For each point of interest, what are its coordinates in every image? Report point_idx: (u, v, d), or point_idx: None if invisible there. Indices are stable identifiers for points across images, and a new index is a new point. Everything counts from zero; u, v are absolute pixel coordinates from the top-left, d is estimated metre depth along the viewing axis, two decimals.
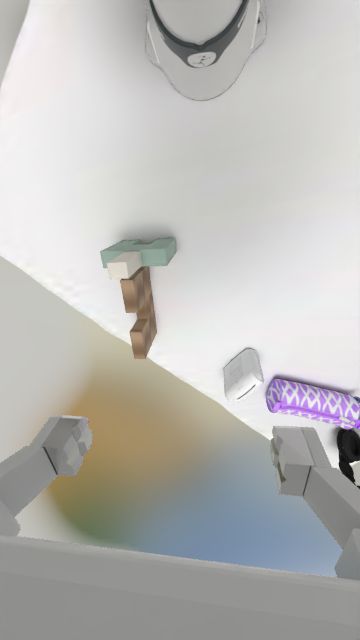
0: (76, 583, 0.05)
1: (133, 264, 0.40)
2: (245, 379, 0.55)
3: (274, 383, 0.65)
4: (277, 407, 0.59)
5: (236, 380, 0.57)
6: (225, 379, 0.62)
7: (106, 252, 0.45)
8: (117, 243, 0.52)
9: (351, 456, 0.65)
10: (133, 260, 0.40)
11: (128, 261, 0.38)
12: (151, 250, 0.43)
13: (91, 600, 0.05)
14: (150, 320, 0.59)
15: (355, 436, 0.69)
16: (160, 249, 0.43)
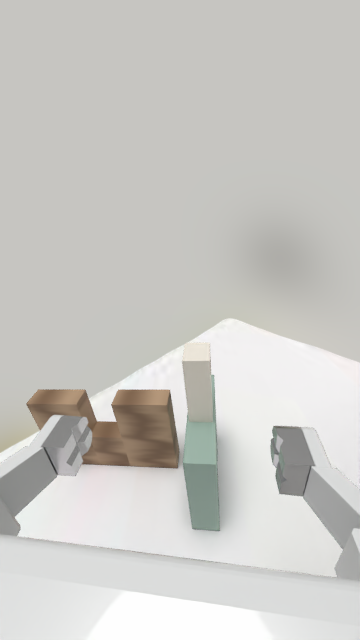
0: (76, 583, 0.05)
1: (198, 388, 0.24)
2: None
3: None
4: None
5: None
6: None
7: (212, 380, 0.31)
8: None
9: None
10: (205, 389, 0.24)
11: (208, 371, 0.23)
12: (213, 439, 0.24)
13: (91, 600, 0.05)
14: None
15: None
16: (214, 455, 0.23)
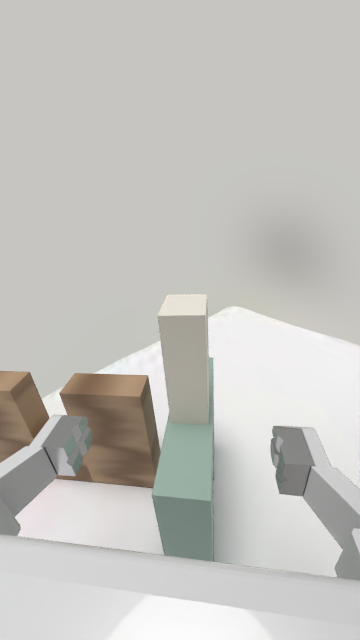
0: (76, 583, 0.05)
1: (185, 367, 0.14)
2: None
3: None
4: None
5: None
6: None
7: (210, 365, 0.22)
8: None
9: None
10: (197, 369, 0.14)
11: (202, 335, 0.13)
12: (207, 453, 0.14)
13: (91, 600, 0.05)
14: None
15: None
16: (208, 483, 0.13)
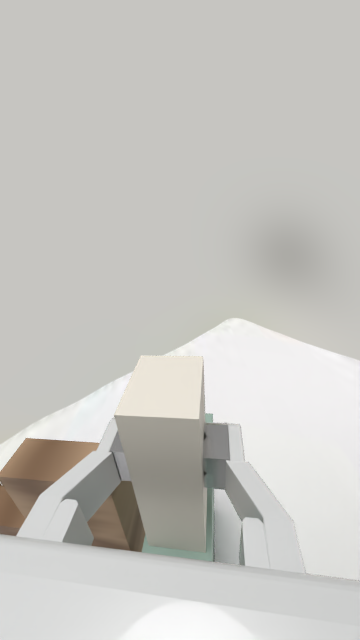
0: (76, 583, 0.05)
1: (167, 485, 0.09)
2: None
3: None
4: None
5: None
6: None
7: None
8: None
9: None
10: (186, 489, 0.09)
11: (194, 446, 0.07)
12: None
13: (91, 600, 0.05)
14: None
15: None
16: None
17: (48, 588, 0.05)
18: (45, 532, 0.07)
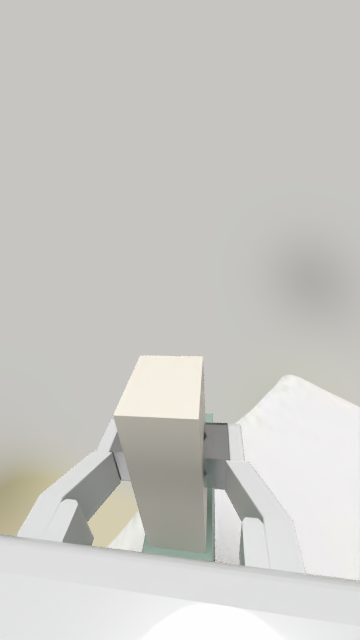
0: (76, 583, 0.05)
1: (167, 486, 0.09)
2: None
3: None
4: None
5: None
6: None
7: None
8: None
9: None
10: (186, 490, 0.08)
11: (193, 446, 0.07)
12: None
13: (91, 600, 0.05)
14: None
15: None
16: None
17: (48, 588, 0.05)
18: (45, 532, 0.07)
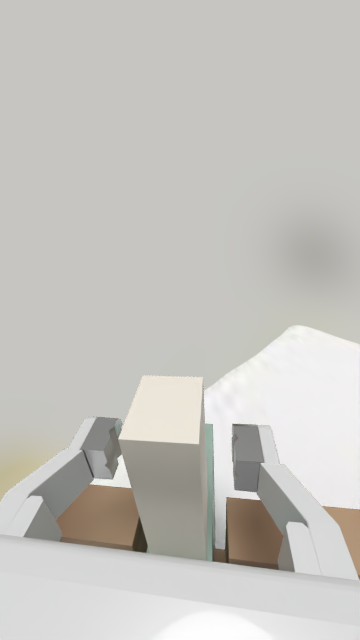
0: (76, 583, 0.05)
1: (169, 503, 0.09)
2: None
3: None
4: None
5: None
6: None
7: (209, 438, 0.16)
8: None
9: None
10: (187, 506, 0.09)
11: (194, 468, 0.08)
12: None
13: (91, 600, 0.05)
14: None
15: None
16: None
17: (48, 588, 0.05)
18: (8, 527, 0.07)
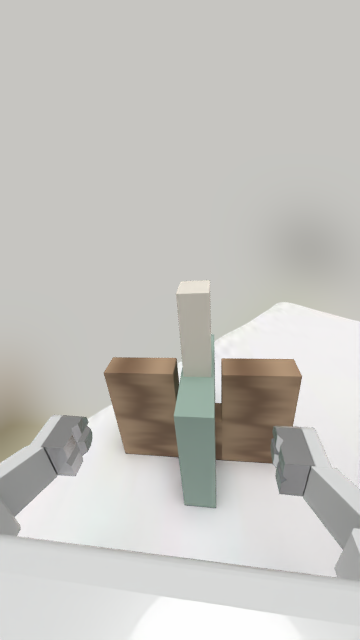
0: (76, 583, 0.05)
1: (195, 331, 0.20)
2: None
3: None
4: None
5: None
6: None
7: (212, 339, 0.28)
8: None
9: None
10: (203, 333, 0.20)
11: (207, 307, 0.19)
12: (211, 393, 0.20)
13: (91, 600, 0.05)
14: (168, 430, 0.26)
15: None
16: (212, 409, 0.19)
17: (48, 588, 0.05)
18: None
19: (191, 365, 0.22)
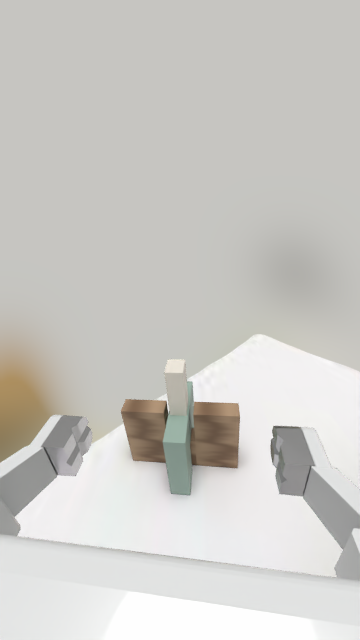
0: (76, 583, 0.05)
1: (175, 391, 0.35)
2: None
3: None
4: None
5: None
6: None
7: (190, 386, 0.42)
8: None
9: None
10: (180, 392, 0.34)
11: (182, 379, 0.33)
12: (185, 427, 0.35)
13: (91, 600, 0.05)
14: (161, 446, 0.41)
15: None
16: (184, 437, 0.33)
17: (48, 588, 0.05)
18: None
19: (174, 409, 0.36)
